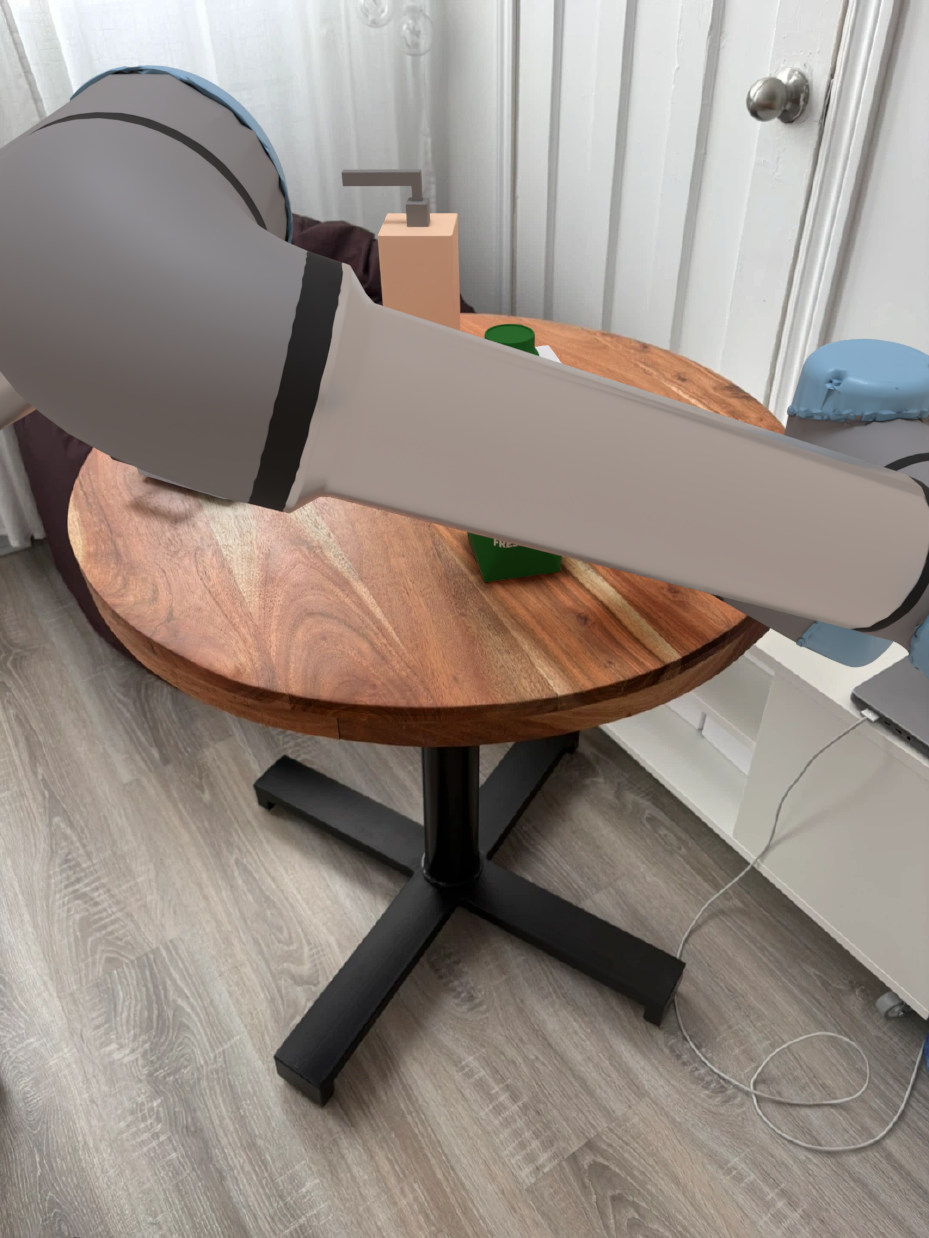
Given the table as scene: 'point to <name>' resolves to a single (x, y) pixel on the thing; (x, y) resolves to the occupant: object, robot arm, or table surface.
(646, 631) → the table surface
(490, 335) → the milk carton
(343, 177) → the soap dispenser
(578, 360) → the table surface
